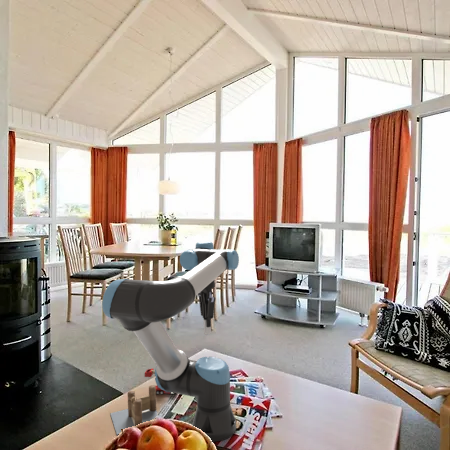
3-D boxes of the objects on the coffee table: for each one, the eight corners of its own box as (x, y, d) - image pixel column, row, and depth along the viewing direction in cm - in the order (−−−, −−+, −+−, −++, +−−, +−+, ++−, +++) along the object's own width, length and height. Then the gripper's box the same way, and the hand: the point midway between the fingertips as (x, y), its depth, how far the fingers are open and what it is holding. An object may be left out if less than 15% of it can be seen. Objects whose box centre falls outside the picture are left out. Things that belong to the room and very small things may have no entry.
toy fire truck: (176, 394, 146) (176, 372, 146) (144, 394, 148) (144, 371, 148) (178, 391, 150) (177, 368, 150) (147, 390, 151) (146, 368, 151)
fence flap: (134, 411, 133) (133, 389, 133) (143, 425, 124) (142, 401, 124) (127, 414, 132) (126, 391, 132) (136, 428, 123) (135, 403, 123)
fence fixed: (157, 411, 134) (156, 387, 134) (129, 418, 130) (128, 394, 129) (155, 407, 137) (154, 384, 136) (127, 415, 132) (126, 391, 132)
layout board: (162, 422, 127) (162, 421, 127) (117, 435, 120) (116, 434, 120) (151, 403, 140) (151, 402, 140) (110, 414, 133) (110, 413, 133)
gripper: (220, 279, 144) (222, 336, 144) (207, 275, 155) (209, 328, 156) (204, 282, 140) (206, 340, 141) (191, 277, 152) (193, 331, 152)
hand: (207, 333), depth 148 cm, fingers closed
